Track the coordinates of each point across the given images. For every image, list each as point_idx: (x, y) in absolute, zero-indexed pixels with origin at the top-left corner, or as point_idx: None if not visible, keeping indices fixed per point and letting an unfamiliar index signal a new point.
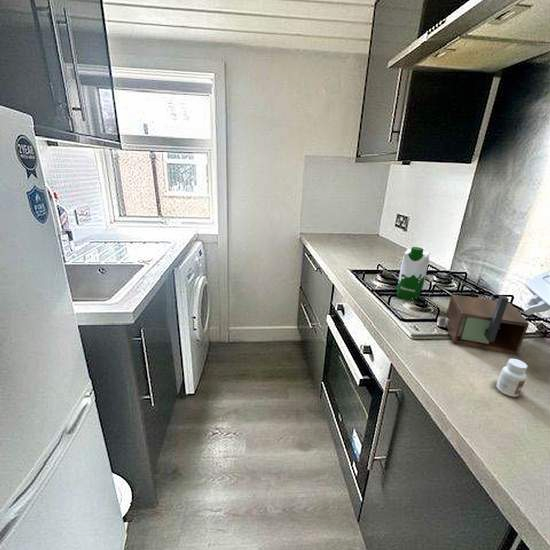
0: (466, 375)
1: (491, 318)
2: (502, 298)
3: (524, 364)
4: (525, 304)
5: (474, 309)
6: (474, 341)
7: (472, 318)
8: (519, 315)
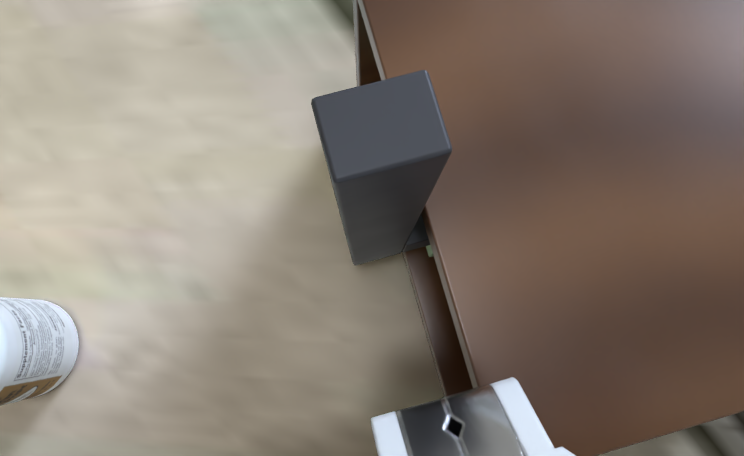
0: (62, 172)
1: None
2: (313, 103)
3: None
4: (509, 433)
5: (509, 47)
6: None
7: None
8: (657, 412)
